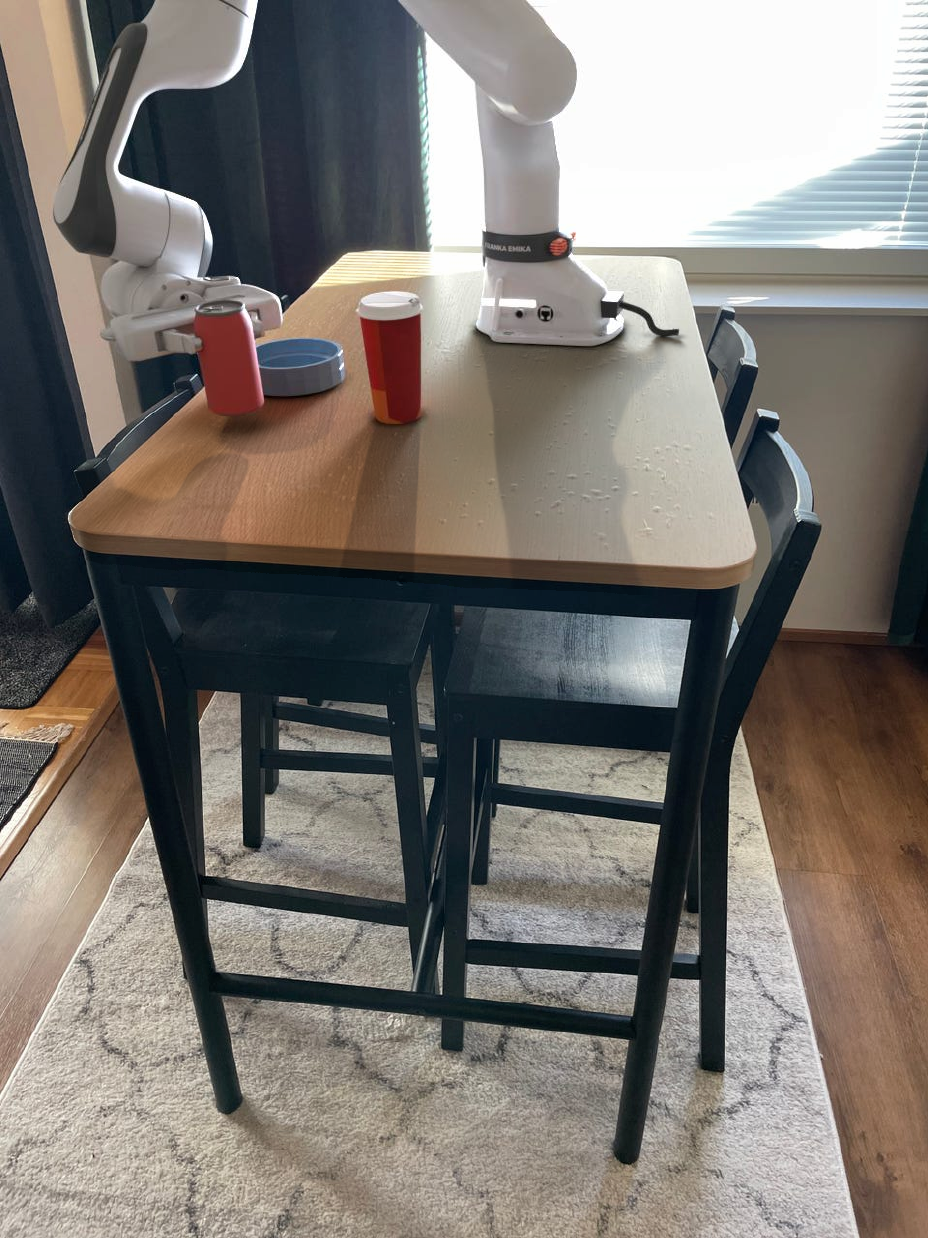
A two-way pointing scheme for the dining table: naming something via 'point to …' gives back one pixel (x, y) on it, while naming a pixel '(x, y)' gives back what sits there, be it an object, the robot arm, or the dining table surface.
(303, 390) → the bowl
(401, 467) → the dining table surface
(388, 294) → the paper cup
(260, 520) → the dining table surface
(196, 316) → the beer can
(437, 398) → the dining table surface
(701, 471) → the dining table surface
